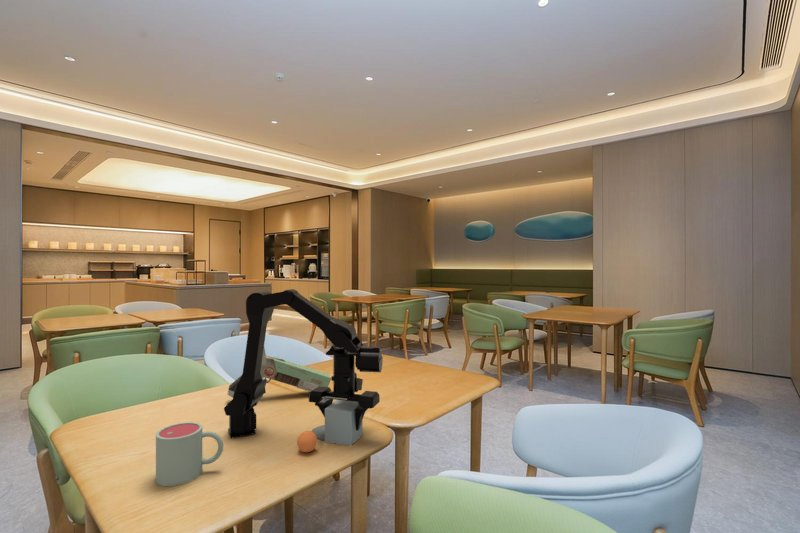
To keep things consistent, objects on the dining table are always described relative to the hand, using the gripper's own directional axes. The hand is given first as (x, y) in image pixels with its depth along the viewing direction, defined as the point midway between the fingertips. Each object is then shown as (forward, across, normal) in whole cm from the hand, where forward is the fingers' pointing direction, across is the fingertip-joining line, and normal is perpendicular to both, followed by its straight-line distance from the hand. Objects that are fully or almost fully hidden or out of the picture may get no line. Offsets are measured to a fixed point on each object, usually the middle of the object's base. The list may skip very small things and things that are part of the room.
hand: (344, 428), depth 109 cm
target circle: (+3, +6, -2) cm, 7 cm away
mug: (+3, +26, +27) cm, 37 cm away
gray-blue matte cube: (+3, 0, 0) cm, 3 cm away
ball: (0, +6, +10) cm, 11 cm away
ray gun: (+3, +35, -24) cm, 43 cm away
